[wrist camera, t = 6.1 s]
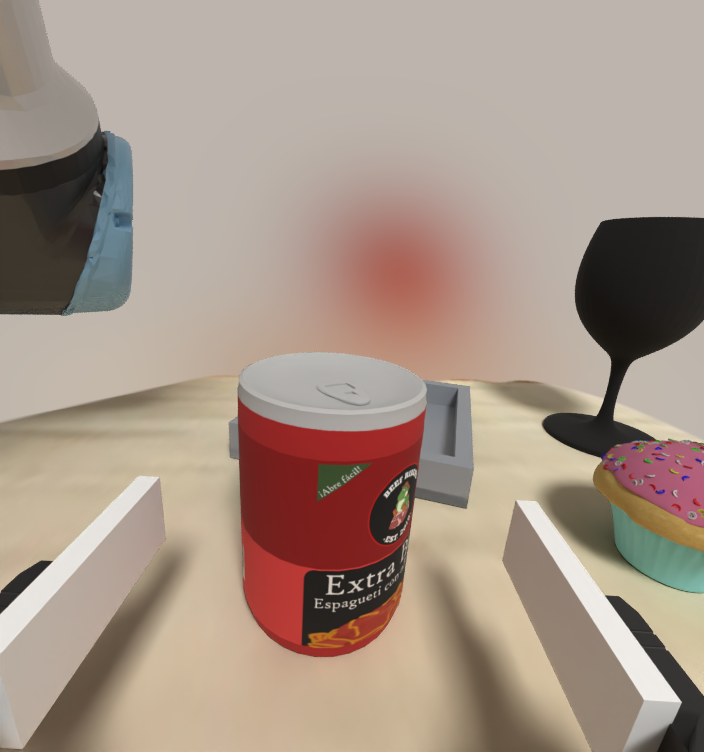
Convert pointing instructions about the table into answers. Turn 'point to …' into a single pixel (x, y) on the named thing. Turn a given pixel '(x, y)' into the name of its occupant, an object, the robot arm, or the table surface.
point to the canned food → (327, 495)
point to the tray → (434, 445)
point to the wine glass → (633, 310)
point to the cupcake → (658, 508)
